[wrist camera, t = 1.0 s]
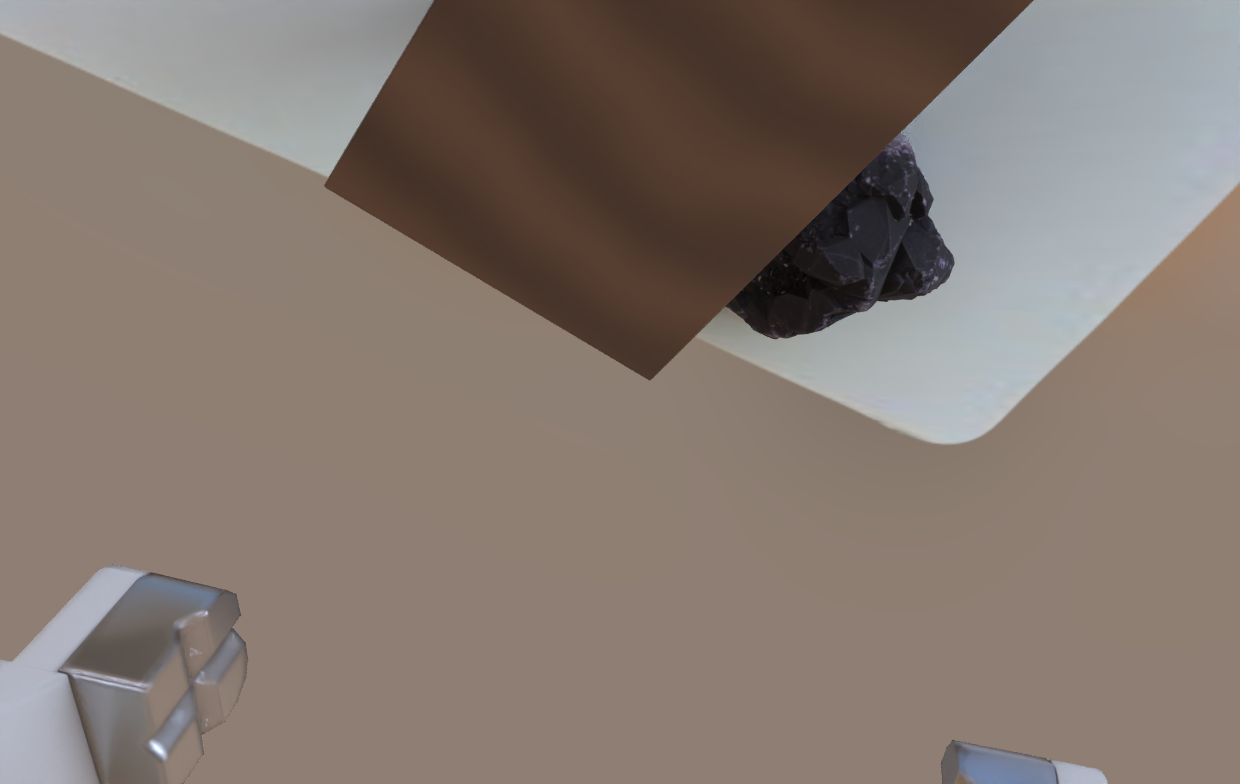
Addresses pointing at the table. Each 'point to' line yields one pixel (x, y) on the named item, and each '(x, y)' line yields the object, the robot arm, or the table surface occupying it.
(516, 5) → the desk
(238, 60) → the table surface
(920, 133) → the table surface
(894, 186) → the crystal cluster
